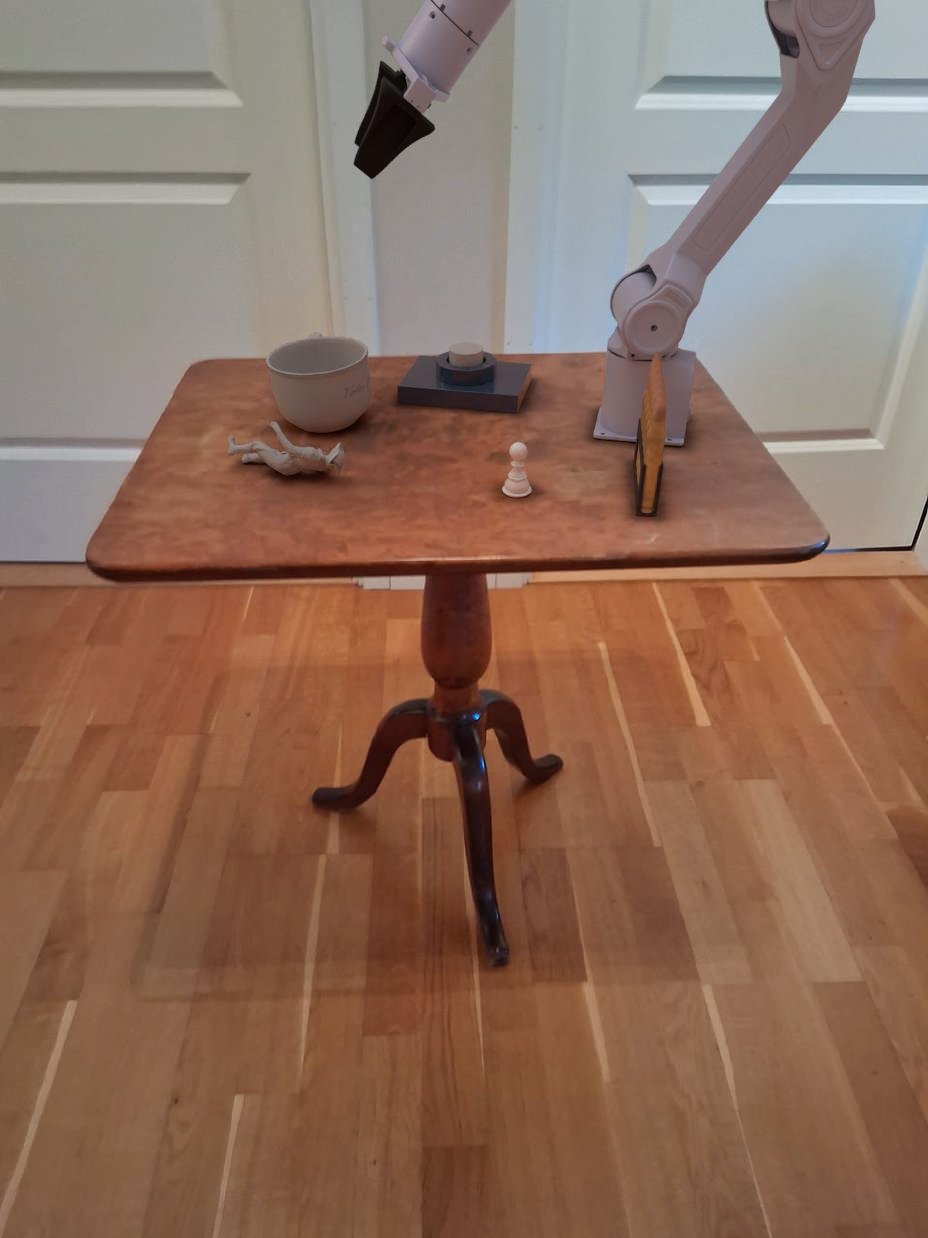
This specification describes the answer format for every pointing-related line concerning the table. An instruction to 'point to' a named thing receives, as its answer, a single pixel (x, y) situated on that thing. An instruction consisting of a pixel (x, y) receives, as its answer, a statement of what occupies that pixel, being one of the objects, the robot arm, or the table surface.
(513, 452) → the chess pawn
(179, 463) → the table surface
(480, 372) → the dark ring socket base
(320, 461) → the soldier figure
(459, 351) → the pale grey cylinder
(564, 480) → the table surface
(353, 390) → the teacup
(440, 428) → the table surface
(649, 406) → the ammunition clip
